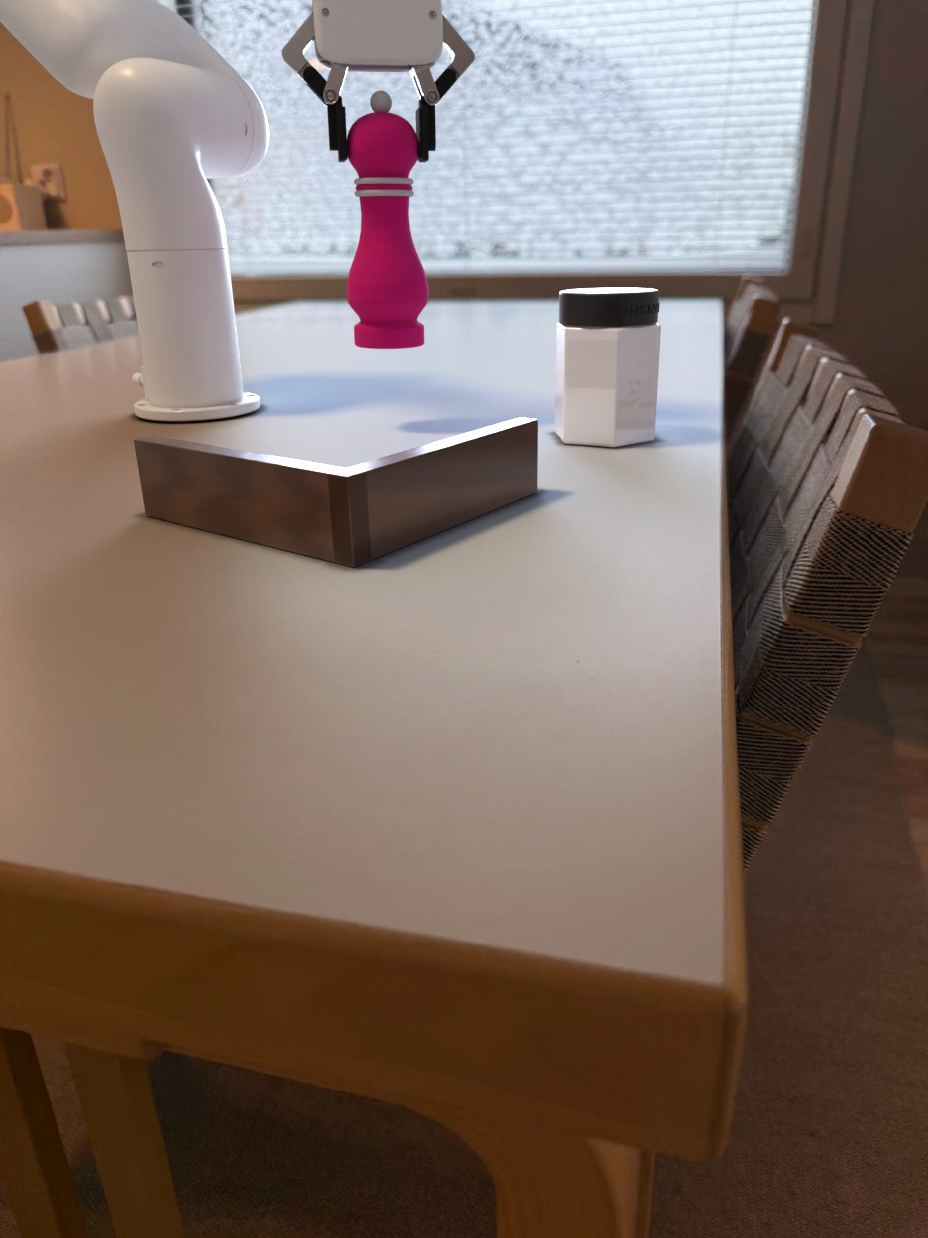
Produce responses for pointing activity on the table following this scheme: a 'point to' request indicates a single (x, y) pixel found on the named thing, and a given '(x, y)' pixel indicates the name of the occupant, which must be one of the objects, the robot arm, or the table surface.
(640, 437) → the jar
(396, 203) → the pepper mill
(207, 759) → the table surface
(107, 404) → the table surface
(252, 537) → the corner stop
